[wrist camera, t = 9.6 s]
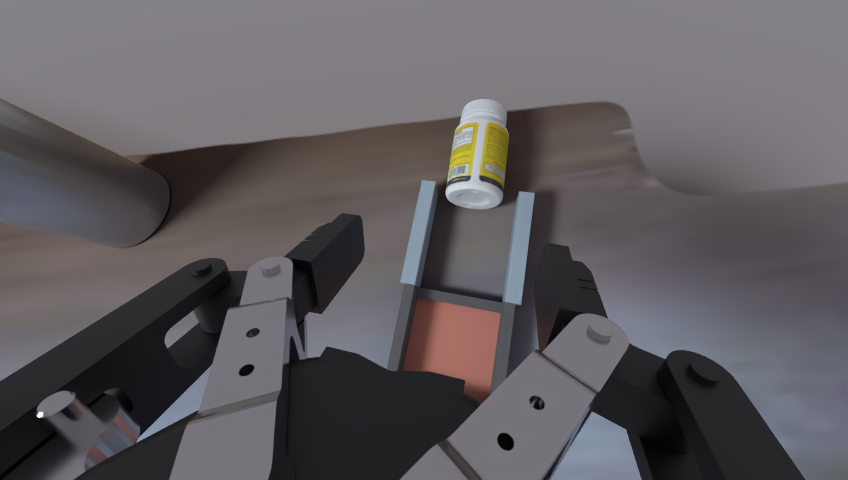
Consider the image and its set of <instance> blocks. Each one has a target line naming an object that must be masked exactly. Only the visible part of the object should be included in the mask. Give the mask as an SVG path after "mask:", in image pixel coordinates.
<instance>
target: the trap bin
mask: <svg viewBox="0 0 848 480" xmlns="http://www.w3.org/2000/svg"><path fill="white" fill-rule="evenodd" d="M514 312H515V304H514V303H509V302H503V303H501V302H495V301H490V300H485V299H479V298H474V297H469V296H463V295H458V294H453V293H447V292H442V291H437V290H431V289H426V288H421V287H417V286H416V285H412V284H407V283H405V286H404V290H403V295H402V300H401V305H400V309H399V314H398V319H397V324H396V328H395V333H394V338H393V343H392V347H391V352H390V357H389V362H388V366H387V370H390V371H430V372H434V373H438V374H442V375H446V376H451V377H455V378H459V379H463V380H465V386H464V392H465V393H466V394H468V395H470V396H472V397H473V398H475V399H476V400H478V401H479V402H480V403H481V404H482V403H483V402H484V401H485V400H486V399H487V398H488V397H489V396H490V395H491V394H492V393H493V392H494V391H495V390H496V389H497V388H498V387H499V386H500V385H501V384H502V383H503V381H504V380H505V379H506V375H507V367H508V359H509V352H510V344H511V336H512V328H513V320H514Z"/></svg>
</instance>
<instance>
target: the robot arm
mask: <svg viewBox="0 0 848 480" xmlns="http://www.w3.org/2000/svg"><path fill="white" fill-rule="evenodd" d="M169 200H170V190H169V187H168V183H167V182H166V180H165V178H164V177H163V176H162V175H160V174H159V173H157V172H155V171H153V170H151V169H149V168H147V167H145V166H142V165H140V164H138V163H136V162H134V161H132V160H130V159H128V158H126V157H124V156H121V155H120V154H118V153H115V152H113V151H111V150H109V149H107V148H105V147H103V146H101V145H99V144H96V143H94V142H92V141H90V140H88V139H86V138H84V137H82V136H80V135H77V134H75V133H73V132H71V131H69V130H67V129H65V128H62V127H61V126H58V125H56V124H54V123H52V122H49V121H48V120H46V119H43V118H41V117H39V116H37V115H35V114H33V113H31V112H29V111H26V110H24V109H22V108H20V107H18V106H16V105H14V104H12V103H10V102H8V101H5V100H3V99H1V98H0V223H1V224H5V225H10V226H15V227H20V228H25V229H29V230H34V231H39V232H44V233H49V234H54V235H58V236H63V237H68V238H72V239H77V240H82V241H87V242H92V243H96V244H101V245H106V246H111V247H116V248H126V247H130V246H134V245H136V244H138V243H140V242H142V241H143V240H145V239H146V238H148V237H149V236H150V235H151V234H152V233H153V232H154V231H155V230H156V229H157V228H158V226H159V225H160V224H161V222H162V220H163V218H164V217H165V215H166V212H167V209H168V206H169ZM364 251H365V247H364V235H363V224H362V218H361V217H360V216H358V215H351V214H344V213H342V214H340V215H339V216H338V217H337V218H336V219H335V220H334V221H332V222H331V223H327V224H325V225H323V226H321V227H319V228H317V229H316V230H315V231H314V232H312V233H311V234H310V236H308V237H307V238H305V239H304V241H302V242H301V243H300V244H298V245H297V246H296V247H295V248H294V249H293V250H291V251H290V252H289V253H288V254H287V255H286V256H284V257H270V258H266V259H263V260H260V261H258V262H257V263H255V264H253V265H252V266H251V267H250V268H249V270H248V271H228V268H227V265H226V263H225V261H224V260H222V259H218V258H208V259H202V260H198V261H195V262H193V263H190V264H188V265H186V266H185V267H183V268H181V269H180V270H178V271H177V272H175V273H173V274H172V275H170V276H169V277H167V278H165V279H164V280H162V281H161V282H159V283H157V284H156V285H154V286H153V287H151V288H149V289H148V290H146V291H145V292H143V293H141V294H140V295H138V296H137V297H135V298H133V299H132V300H130V301H128V302H127V303H125V304H124V305H122V306H120V307H119V308H117V309H116V310H114V311H112V312H111V313H109V314H108V315H106V316H104V317H103V318H101V319H100V320H98V321H96V322H95V323H93V324H92V325H90V326H88V327H87V328H85V329H84V330H82V331H80V332H79V333H77V334H75V335H74V336H72V337H71V338H69V339H67V340H66V341H64V342H63V343H61V344H59V345H58V346H56V347H55V348H53V349H51V350H50V351H48V352H47V353H45V354H43V355H42V356H40V357H39V358H37V359H35V360H34V361H32V362H31V363H29V364H27V365H26V366H24V367H23V368H21V369H19V370H18V371H16V372H14V373H13V374H11V375H10V376H8V377H6V378H5V379H3V380H2V381H0V480H551V478H552V477H553V475H554V473H555V472H556V470H557V468H558V466H559V465H560V463H561V461H562V460H563V458H564V456H565V455H566V453H567V451H568V450H569V448H570V447H571V445H572V443H573V442H574V440H575V439H576V437H577V436H578V434H579V432H580V431H581V429H582V428H583V426H584V424H585V423H586V421H587V420H588V418H589V416H590V415H591V413H592V412H595V413H596V414H598V415H600V416H602V417H604V418H606V419H608V420H610V421H612V422H613V423H615V424H617V425H619V426H621V427H623V428H625V429H626V430H627V434H628V437H629V440H630V443H631V446H632V450H633V453H634V456H635V459H636V463H637V466H638V469H639V472H640V476H641V479H642V480H805V478H804V477H803V476H802V474H801V473H800V471H799V470H798V468H797V467H796V466H795V464H794V463H793V461H792V460H791V458H790V457H789V456H788V454H787V453H786V451H785V450H784V448H783V447H782V446H781V444H780V443H779V441H778V440H777V438H776V437H775V435H774V434H773V433H772V431H771V430H770V428H769V427H768V425H767V424H766V423H765V421H764V420H763V418H762V417H761V415H760V414H759V413H758V411H757V410H756V408H755V407H754V405H753V404H752V403H751V401H750V400H749V398H748V397H747V395H746V394H745V392H744V391H743V390H742V388H741V387H740V385H739V384H738V382H737V381H736V380H735V379H734V377H733V376H732V375H731V374H730V373H729V372H728V371H727V370H725V369H724V368H723V367H722V366H720V365H719V364H717V363H716V362H714V361H712V360H711V359H709V358H707V357H705V356H702V355H700V354H697V353H694V352H690V351H685V350H677V351H673V352H671V353H670V354H669V355H668V356H667V358H666V359H663V358H661V357H658V356H656V355H654V354H651V353H649V352H646V351H644V350H642V349H639V348H637V347H635V346H633V345H631V344H630V343H629V339H628V337H627V335H626V333H625V332H624V331H623V330H622V328H620V327H619V326H618V325H617V324H616V323H614V322H613V321H611V320H609V319H608V317H607V314H606V312H605V309H604V306H603V303H602V300H601V298H600V295H599V292H598V291H597V290H598V289H597V286H596V284H595V283H594V282H595V281H594V278H593V275H592V273H591V271H590V270H589V269H588V268H587V267H586V266H585V265H584V264H583V263H582V262H579V261H572V257H571V254H570V250H569V247H568V246H562V245H555V244H548V243H547V244H546V245H545V247H544V250H543V254H542V258H541V261H540V265H539V269H538V272H537V276H536V281H535V289H534V294H535V306H536V318H537V329H538V341H539V350H535V351H533V352H532V353H531V354H530V355H529V356H528V357H527V358H526V359H525V360H524V361H523V362H522V363H521V364H520V365H519V366H518V367H517V368H516V369H515V370H514V371H513V372H512V373H511V374H510V375H509V376H508V377H507V378H506V379H505V380H504V381H503V383H502V384H501V385H500V386H499V387H498V388H497V389H496V390H495V391H494V392H493V393H492V394H491V395H490V396H489V397H488V398H487V399H486V400H485V401H484V402H483V403H482V404H481V403H480V402H479V401H478V400H476V399H475V398H473V397H472V396H470V395H468V394H466V393H465V392H464V386H465V380H463V379H459V378H455V377H451V376H446V375H442V374H438V373H434V372H430V371H390V370H387V369H385V368H383V367H381V366H379V365H377V364H376V363H374V362H372V361H370V360H368V359H366V358H365V357H363V356H361V355H359V354H356V353H352V352H347V351H343V350H339V349H335V348H331V347H326V348H325V350H324V351H323V353H322V355H321V356H320V357H314V358H307V321H306V317H305V316H306V315H307V314H308V312H313V313H318V314H322V313H323V312H324V310H325V309H326V308H327V306H328V305H329V304H330V302H331V301H332V300H333V298H334V297H335V296H336V294H337V293H338V292H339V290H340V289H341V288H342V286H343V285H344V284H345V282H346V281H347V280H348V279H349V277H350V276H351V275H352V273H353V272H354V271H355V269H356V268H357V267H358V265H359V264H360V263H361V261H362V259H363V256H364ZM192 311H194V313H195V315H196V317H197V319H198V321H199V323H198V324H197V325H196V326H194V327H193V328H192V329H191V330H190V331H188V332H187V333H186V334H185V335H184V336H182V337H181V338H180V339H179V340H178V341H176V342H175V343H174V344H173V345H171V346H170V347H169V348H168V349H167V347H166V345H165V343H164V339H165V335H166V333H167V332H168V330H169V329H170V328H171V327H172V326H173V325H175V324H176V323H177V322H179V321H180V320H181V319H182V318H184V317H185V316H186V315H188V314H189V313H190V312H192ZM211 365H212V367H211V371H210V374H209V378H208V381H207V385H206V388H205V392H204V395H203V399H202V402H201V406H200V409H199V410H198V411H196V412H194V413H192V414H190V415H188V416H187V417H185V418H183V419H181V420H179V421H177V422H175V423H173V424H171V425H170V426H168V427H166V428H164V429H162V430H160V431H158V432H156V433H154V434H152V435H151V436H149V437H147V438H145V439H143V440H141V441H139V442H137V440H138V438H139V437H140V436H141V435H142V434H143V433H144V432H145V431H146V430H147V429H148V428H149V427H150V426H151V425H152V424H153V423H154V422H155V421H156V420H157V419H158V418H159V417H160V416H161V415H162V414H163V413H164V412H165V411H166V410H167V409H168V408H169V407H170V406H171V405H172V404H173V403H174V402H175V401H176V400H177V399H178V398H179V397H180V396H181V395H182V394H183V393H184V392H185V391H186V390H187V389H188V388H189V387H190V386H191V385H192V384H193V383H194V382H195V381H196V380H197V379H198V378H199V377H200V376H201V375H202V374H203V373H204V372H205V371H206V370H207V369H208V368H209V367H210V366H211ZM136 442H137V443H136Z"/></svg>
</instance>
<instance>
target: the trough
mask: <svg viewBox="0 0 848 480" xmlns="http://www.w3.org/2000/svg"><path fill="white" fill-rule="evenodd" d="M438 195H439V192H438V188H437V185H436V182H434V181H426V180H422V183H421V188H420V193H419V197H418V202H417V207H416V211H415V216H414V221H413V225H412V230H411V235H410V239H409V244H408V249H407V253H406V258H405V263H404V267H403V272H402V276H401V281H400V282H401V283H403V284H404V285H405V283H407V284H412V285H416V286H417V287H420V286H421V281H422V275H423V270H424V265H425V260H426V255H427V250H428V245H429V240H430V235H431V230H432V225H433V220H434V215H435V210H436V205H437V200H438ZM534 195H535V193H530V192H521V191H519V194H518V197H517V200H516V203H515V210H514V217H513V225H512V232H511V239H510V246H509V254H508V261H507V268H506V276H505V283H504V290H503V298H502V303H503V302H509V303H514V304H515V306H519V305H521V302H522V293H523V285H524V277H525V269H526V261H527V253H528V244H529V236H530V228H531V220H532V212H533V203H534Z"/></svg>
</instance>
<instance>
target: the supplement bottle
mask: <svg viewBox="0 0 848 480" xmlns="http://www.w3.org/2000/svg"><path fill="white" fill-rule="evenodd" d="M506 120H507V112H506V109H505V107H504V106H503V105H502V104H500V103H499V102H497V101H494V100H489V99H479V100H474V101H472V102H470V103H468V104H467V105H466V106H465V107H464V109H463V111H462V116H461V120H460V125H459V126H458V127H457V129H456V131H455V134H454V140H453V146H452V153H451V159H450V166H449V173H448V179H447V186H446V197H447V199H448V200H449V201H450V202H451V203H453V204H455V205H457V206H460V207H464V208H471V209H489V208H493V207H496V206H497V205H499V204H500V203H501V201H502V198H503V190H504V181H505V172H506V162H507V153H508V144H509V133H508V130H507V129H506Z"/></svg>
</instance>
